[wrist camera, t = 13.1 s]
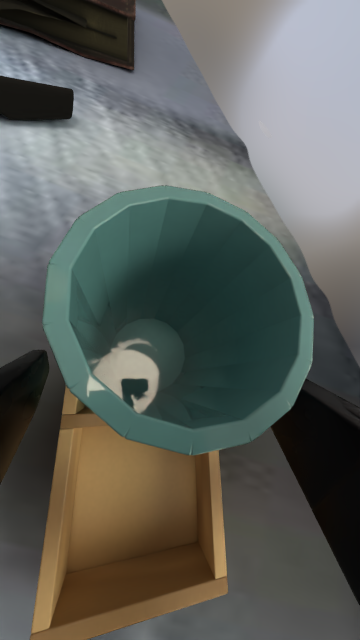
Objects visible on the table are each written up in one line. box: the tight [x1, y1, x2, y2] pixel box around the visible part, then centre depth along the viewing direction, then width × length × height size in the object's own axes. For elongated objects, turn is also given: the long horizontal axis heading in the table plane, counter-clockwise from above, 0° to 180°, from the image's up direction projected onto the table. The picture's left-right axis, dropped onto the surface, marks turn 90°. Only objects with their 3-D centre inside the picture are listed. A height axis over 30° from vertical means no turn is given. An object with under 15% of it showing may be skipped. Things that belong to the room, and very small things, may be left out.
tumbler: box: [42, 185, 314, 456], centre depth 11 cm, size 7×7×13 cm
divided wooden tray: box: [30, 386, 228, 640], centre depth 15 cm, size 20×10×4 cm, turn 1°
